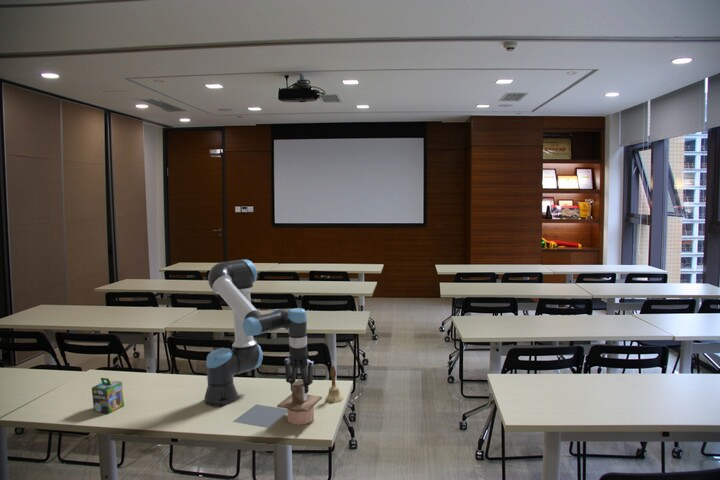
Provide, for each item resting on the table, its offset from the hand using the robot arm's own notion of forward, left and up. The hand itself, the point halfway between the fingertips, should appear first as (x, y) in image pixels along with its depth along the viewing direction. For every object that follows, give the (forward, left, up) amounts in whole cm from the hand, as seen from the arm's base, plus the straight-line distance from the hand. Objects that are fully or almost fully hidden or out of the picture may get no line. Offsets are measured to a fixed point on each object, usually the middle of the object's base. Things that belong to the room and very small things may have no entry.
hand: (299, 399), depth 211 cm
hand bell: (+5, +24, -9) cm, 26 cm away
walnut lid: (0, 0, -2) cm, 2 cm away
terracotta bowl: (0, 0, -9) cm, 9 cm away
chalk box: (-89, -18, -9) cm, 91 cm away
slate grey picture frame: (-17, -3, -9) cm, 19 cm away
